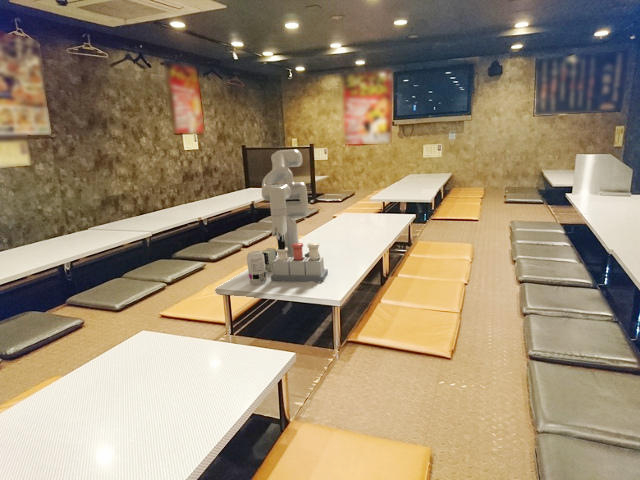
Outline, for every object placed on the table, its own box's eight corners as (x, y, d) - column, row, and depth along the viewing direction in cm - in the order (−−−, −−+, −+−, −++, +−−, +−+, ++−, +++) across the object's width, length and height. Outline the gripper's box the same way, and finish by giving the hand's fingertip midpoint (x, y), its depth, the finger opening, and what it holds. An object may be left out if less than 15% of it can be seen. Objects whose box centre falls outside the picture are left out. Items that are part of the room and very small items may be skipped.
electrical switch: (314, 269, 221) (311, 252, 219) (305, 269, 223) (303, 252, 222) (322, 264, 229) (320, 247, 227) (314, 264, 231) (311, 248, 230)
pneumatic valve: (278, 267, 228) (276, 245, 225) (267, 274, 218) (265, 251, 215) (269, 266, 231) (267, 245, 228) (258, 273, 220) (256, 251, 217)
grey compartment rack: (278, 273, 218) (276, 255, 216) (327, 273, 212) (326, 255, 210) (271, 281, 207) (269, 262, 204) (323, 282, 201) (321, 263, 199)
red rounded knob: (294, 258, 211) (293, 242, 209) (305, 258, 209) (304, 242, 207) (291, 262, 205) (290, 245, 203) (302, 262, 204) (301, 245, 202)
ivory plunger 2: (310, 258, 209) (309, 242, 207) (321, 258, 208) (320, 242, 206) (307, 262, 204) (306, 245, 202) (318, 262, 202) (317, 245, 200)
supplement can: (246, 284, 204) (243, 254, 201) (256, 279, 211) (253, 250, 208) (260, 286, 201) (256, 256, 197) (269, 280, 208) (267, 251, 204)
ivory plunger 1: (279, 263, 213) (278, 247, 211) (290, 263, 212) (289, 247, 210) (276, 266, 208) (274, 250, 206) (287, 266, 206) (285, 250, 204)
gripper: (276, 209, 211) (279, 245, 215) (266, 215, 197) (269, 253, 201) (290, 209, 209) (293, 245, 214) (281, 214, 195) (284, 253, 200)
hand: (281, 248), depth 207 cm, fingers closed
